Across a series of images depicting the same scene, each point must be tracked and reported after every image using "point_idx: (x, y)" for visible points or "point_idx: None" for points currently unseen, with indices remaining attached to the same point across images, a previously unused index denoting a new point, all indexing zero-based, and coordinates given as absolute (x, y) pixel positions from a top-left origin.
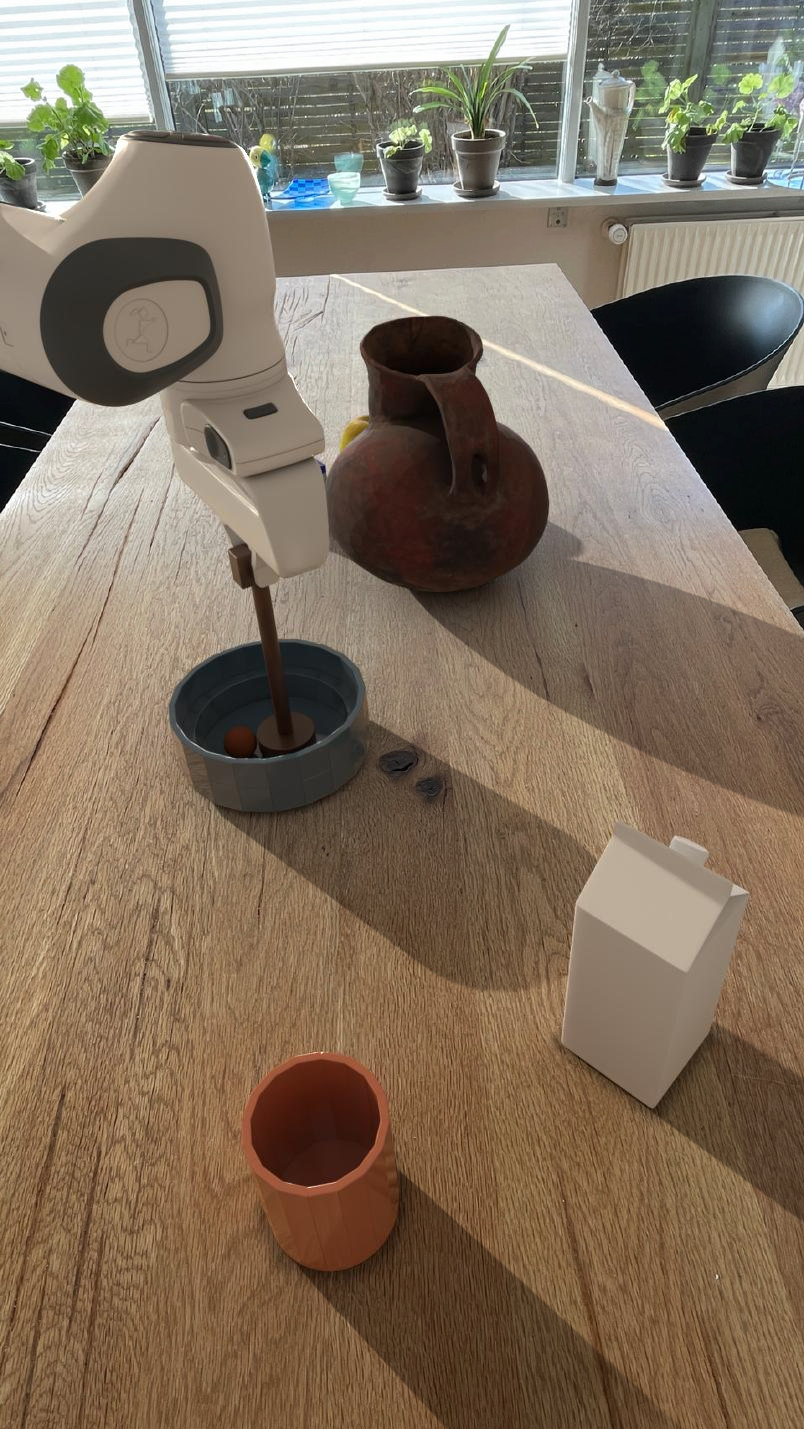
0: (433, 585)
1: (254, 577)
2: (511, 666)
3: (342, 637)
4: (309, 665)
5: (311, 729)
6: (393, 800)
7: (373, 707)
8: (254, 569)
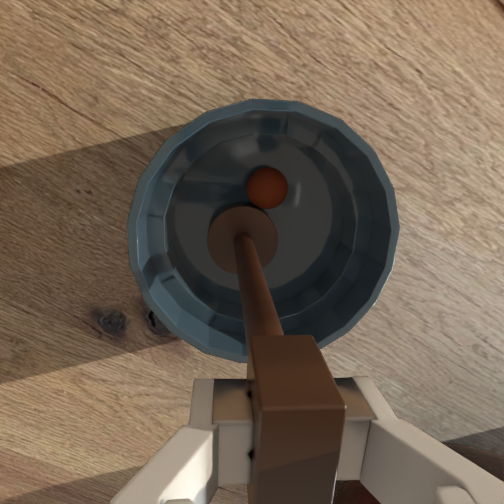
0: (347, 486)
1: (214, 392)
2: None
3: (374, 366)
4: (319, 318)
5: (224, 266)
6: (114, 285)
7: None
8: (194, 420)
